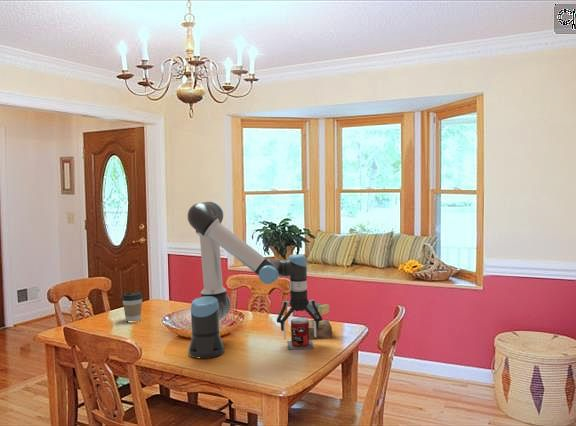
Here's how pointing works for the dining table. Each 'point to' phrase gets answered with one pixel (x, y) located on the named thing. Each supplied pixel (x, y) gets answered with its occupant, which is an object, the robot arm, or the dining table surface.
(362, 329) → the dining table surface
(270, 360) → the dining table surface
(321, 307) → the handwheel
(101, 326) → the dining table surface
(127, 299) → the coffee cup
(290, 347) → the rubber mat
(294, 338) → the canned food
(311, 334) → the walnut block
